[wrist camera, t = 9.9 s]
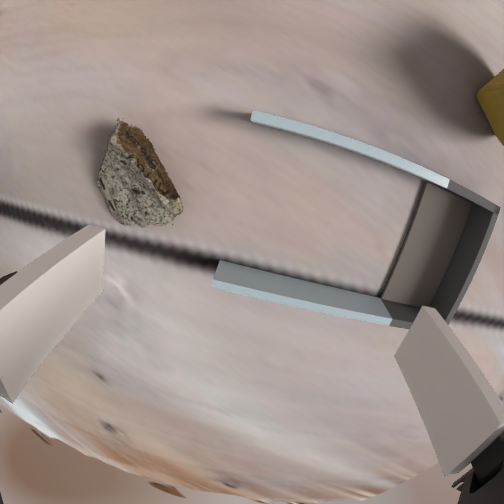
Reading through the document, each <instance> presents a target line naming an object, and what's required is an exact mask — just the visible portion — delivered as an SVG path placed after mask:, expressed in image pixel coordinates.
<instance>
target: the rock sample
mask: <svg viewBox="0 0 504 504" xmlns="http://www.w3.org/2000/svg"><path fill="white" fill-rule="evenodd" d="M123 120H124V118H123ZM116 121H118V124H117V126H116V127H115V130H114V131H113V133H112V134H111V136H110V139H109V142H108V145H107V149H106V151H105V156H104V159H103V162H102V165H101V168H100V171H99V178H98V180H97V185H98V187H99V189H100V191H101V193H102V194H103V196H104V197H105V199H106V201H107V205H108V207H109V209H110V212H111V214H112V215H113V216H114V217H115V218H116V220H117V221H119V223H121V224H123V225H134V224H138V225H140V226H141V227H145V226H147V225H148V224H152V225H155V226H158V225H163V224H165V225H166V223H168V222H169V221H170V220H173V219H174V218H175V217H176V216H177V215H179V214H181V213H182V211H183V206H182V203H181V199H180V196H179V195H178V193H177V191H176V189H175V187H174V185H173V183H172V181H171V179H170V178H169V177H168V173H167V172H166V171H165V168H164V166H163V165H162V163H161V162H160V160H159V158H158V156H157V154H156V153H155V149H154V148H153V145H152V143H151V142H150V141H149V139H146V136H144V133H143V132H142V130H140V129H139V128H137V127H136V126H133V125H132V124H130V125H128V124H127V123H125V122H123V121H121V118H117V120H116ZM172 225H173V224H172ZM146 232H147V231H146Z"/></svg>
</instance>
